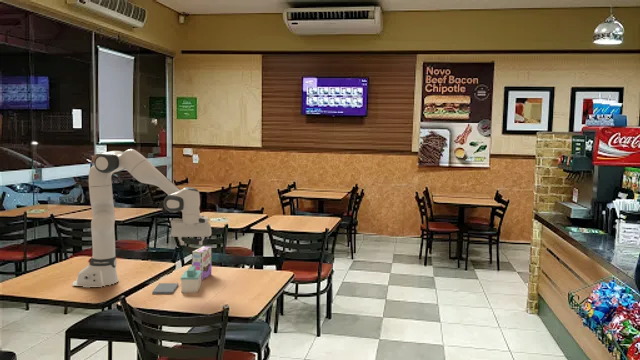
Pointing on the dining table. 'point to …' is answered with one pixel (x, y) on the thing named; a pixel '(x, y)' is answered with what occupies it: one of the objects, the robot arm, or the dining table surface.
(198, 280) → the tub
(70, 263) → the dining table surface
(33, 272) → the dining table surface
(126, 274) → the dining table surface
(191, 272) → the lid
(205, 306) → the dining table surface
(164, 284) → the mat
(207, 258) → the candy box
